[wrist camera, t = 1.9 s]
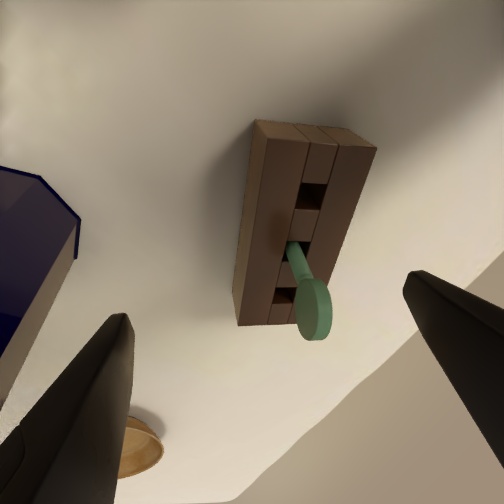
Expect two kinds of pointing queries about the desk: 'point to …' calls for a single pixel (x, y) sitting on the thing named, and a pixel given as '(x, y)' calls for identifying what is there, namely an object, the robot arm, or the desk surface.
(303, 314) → the spoon
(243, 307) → the holder
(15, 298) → the bottle
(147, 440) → the plant saucer
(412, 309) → the robot arm
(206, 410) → the desk surface
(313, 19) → the desk surface
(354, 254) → the desk surface
